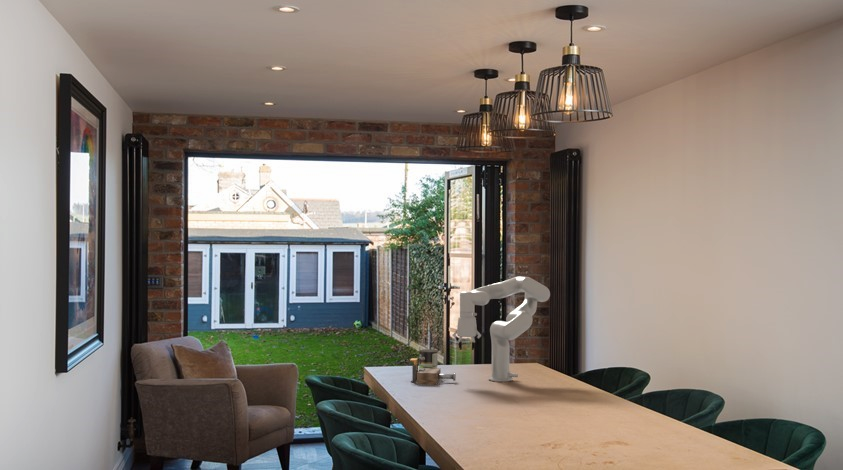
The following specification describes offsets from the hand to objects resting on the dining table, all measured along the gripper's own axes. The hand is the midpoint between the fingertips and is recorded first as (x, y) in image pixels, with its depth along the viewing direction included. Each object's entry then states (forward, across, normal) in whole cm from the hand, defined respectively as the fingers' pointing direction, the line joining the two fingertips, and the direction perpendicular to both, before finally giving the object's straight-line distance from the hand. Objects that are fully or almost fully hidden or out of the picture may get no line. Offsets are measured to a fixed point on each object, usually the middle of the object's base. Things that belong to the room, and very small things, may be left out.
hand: (466, 349), depth 415 cm
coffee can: (+18, +23, -19) cm, 35 cm away
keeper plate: (+12, +28, 0) cm, 30 cm away
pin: (+17, +12, 0) cm, 20 cm away
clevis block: (+18, +22, 0) cm, 28 cm away
